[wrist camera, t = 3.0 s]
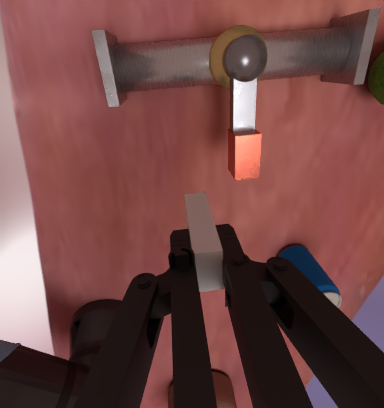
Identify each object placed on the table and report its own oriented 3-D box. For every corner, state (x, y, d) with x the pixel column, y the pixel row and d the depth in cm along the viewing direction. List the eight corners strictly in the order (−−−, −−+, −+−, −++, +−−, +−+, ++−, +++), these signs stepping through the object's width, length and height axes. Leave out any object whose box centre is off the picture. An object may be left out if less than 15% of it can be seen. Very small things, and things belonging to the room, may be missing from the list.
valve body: (115, 99, 34) (104, 107, 28) (102, 37, 31) (87, 30, 24) (331, 80, 35) (366, 83, 29) (342, 18, 32) (384, 8, 26)
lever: (221, 38, 25) (229, 34, 22) (260, 35, 26) (274, 31, 22) (223, 169, 32) (229, 180, 29) (254, 166, 32) (264, 177, 29)
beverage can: (275, 246, 49) (305, 295, 39) (308, 239, 49) (346, 287, 39) (275, 270, 52) (303, 322, 42) (306, 264, 52) (341, 314, 42)
